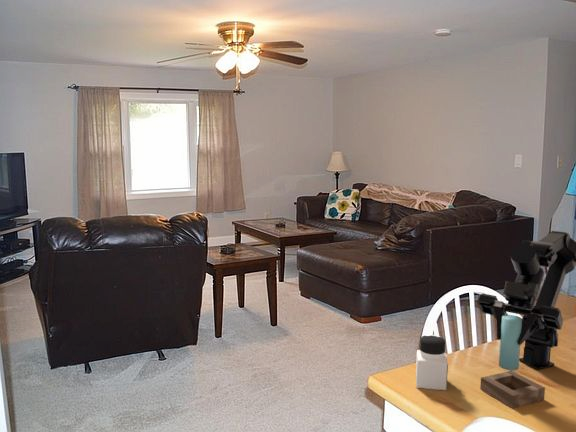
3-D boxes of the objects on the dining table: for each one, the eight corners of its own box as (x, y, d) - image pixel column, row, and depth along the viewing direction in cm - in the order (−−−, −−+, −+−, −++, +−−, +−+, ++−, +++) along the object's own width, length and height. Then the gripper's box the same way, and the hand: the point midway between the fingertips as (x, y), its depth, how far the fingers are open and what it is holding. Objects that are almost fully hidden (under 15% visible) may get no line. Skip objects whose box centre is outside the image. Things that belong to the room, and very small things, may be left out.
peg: (502, 360, 131) (505, 313, 129) (521, 366, 128) (524, 317, 127) (496, 366, 128) (499, 318, 126) (515, 372, 125) (518, 322, 123)
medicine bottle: (446, 391, 130) (449, 343, 129) (416, 388, 132) (418, 341, 130) (444, 378, 137) (446, 333, 135) (415, 375, 139) (417, 331, 137)
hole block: (510, 381, 135) (511, 370, 135) (544, 399, 126) (545, 387, 126) (480, 389, 131) (480, 377, 131) (512, 408, 122) (513, 395, 122)
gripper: (481, 261, 134) (461, 315, 127) (563, 274, 122) (545, 335, 115) (492, 285, 141) (472, 338, 134) (570, 300, 129) (553, 358, 122)
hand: (508, 341), depth 126 cm, fingers closed on peg, 4 cm apart
